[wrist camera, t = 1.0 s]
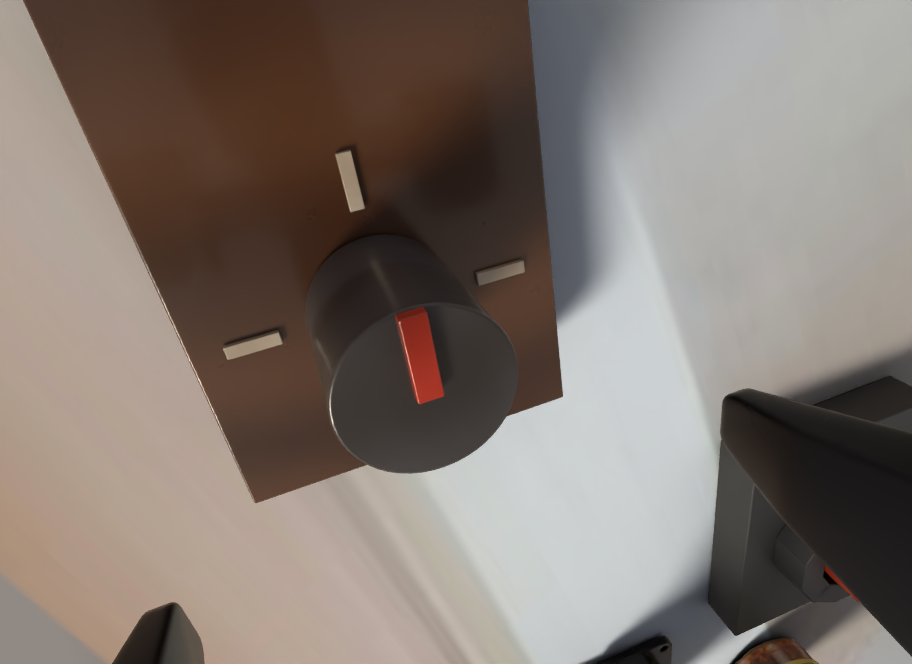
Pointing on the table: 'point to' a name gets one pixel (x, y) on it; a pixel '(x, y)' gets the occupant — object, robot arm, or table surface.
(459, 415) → the knob
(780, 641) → the sauce bottle
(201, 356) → the knob panel
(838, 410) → the button box
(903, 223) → the table surface
